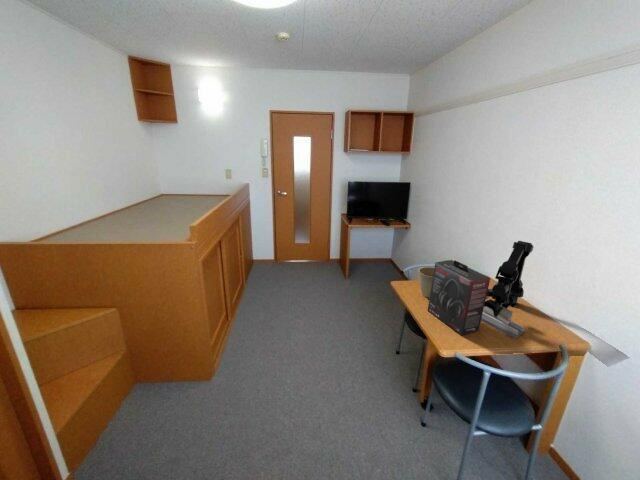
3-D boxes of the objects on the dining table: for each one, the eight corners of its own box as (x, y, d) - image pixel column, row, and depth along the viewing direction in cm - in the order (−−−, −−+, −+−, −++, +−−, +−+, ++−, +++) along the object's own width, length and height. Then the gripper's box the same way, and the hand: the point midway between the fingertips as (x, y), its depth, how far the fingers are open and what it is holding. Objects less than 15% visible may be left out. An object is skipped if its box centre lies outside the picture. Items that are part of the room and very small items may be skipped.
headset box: (426, 310, 161) (434, 255, 150) (443, 306, 165) (453, 253, 155) (460, 336, 139) (473, 274, 129) (480, 331, 143) (493, 271, 133)
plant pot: (426, 287, 187) (430, 265, 182) (446, 297, 175) (450, 273, 170) (410, 292, 180) (413, 269, 175) (429, 303, 168) (433, 279, 163)
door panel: (487, 311, 155) (489, 300, 153) (509, 323, 145) (513, 311, 143) (483, 313, 154) (486, 301, 152) (506, 325, 144) (509, 313, 142)
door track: (480, 309, 163) (481, 303, 162) (525, 332, 143) (526, 326, 142) (468, 313, 158) (469, 308, 157) (513, 338, 138) (515, 332, 137)
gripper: (498, 279, 155) (492, 304, 160) (477, 286, 147) (471, 312, 152) (520, 287, 146) (513, 314, 151) (498, 295, 138) (492, 323, 143)
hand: (497, 315), depth 149 cm, fingers closed on door panel, 3 cm apart
